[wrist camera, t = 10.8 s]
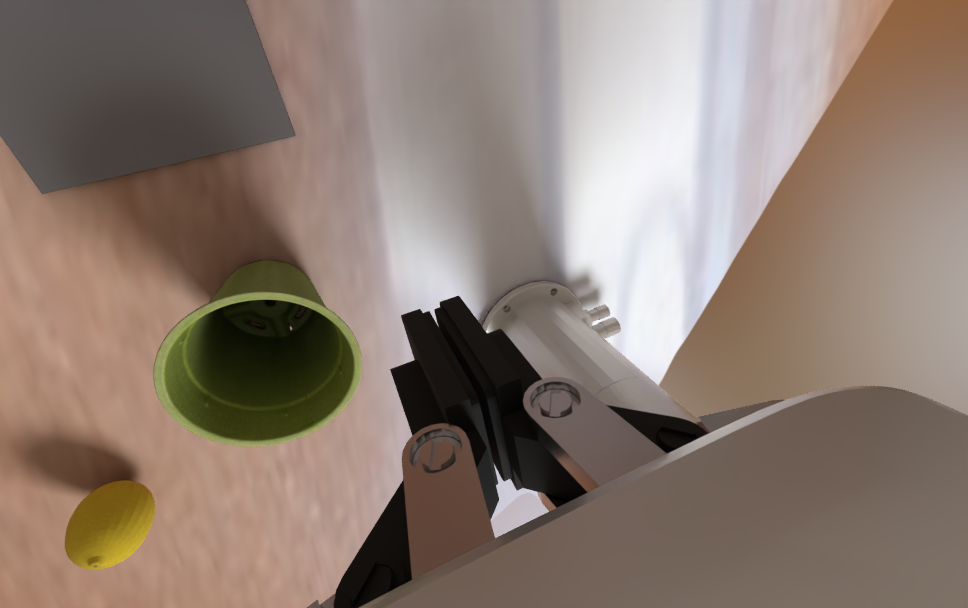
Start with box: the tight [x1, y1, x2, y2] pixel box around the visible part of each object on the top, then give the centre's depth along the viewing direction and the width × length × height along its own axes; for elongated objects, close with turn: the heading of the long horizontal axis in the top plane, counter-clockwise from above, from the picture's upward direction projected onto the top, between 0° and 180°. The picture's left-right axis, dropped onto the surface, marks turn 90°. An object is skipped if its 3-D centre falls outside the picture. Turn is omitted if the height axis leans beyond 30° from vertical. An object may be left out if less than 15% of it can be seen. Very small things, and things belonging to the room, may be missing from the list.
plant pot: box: [154, 260, 362, 447], centre depth 33 cm, size 12×12×11 cm
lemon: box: [65, 480, 155, 569], centre depth 36 cm, size 6×6×8 cm
